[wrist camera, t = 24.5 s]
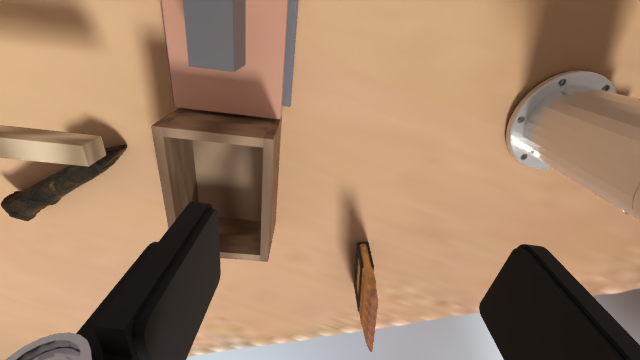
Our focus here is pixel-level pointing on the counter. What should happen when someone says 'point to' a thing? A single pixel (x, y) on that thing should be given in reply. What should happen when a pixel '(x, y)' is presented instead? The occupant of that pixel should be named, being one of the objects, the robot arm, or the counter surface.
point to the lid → (227, 55)
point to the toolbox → (222, 174)
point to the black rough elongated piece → (57, 186)
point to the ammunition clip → (366, 292)
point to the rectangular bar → (50, 146)
